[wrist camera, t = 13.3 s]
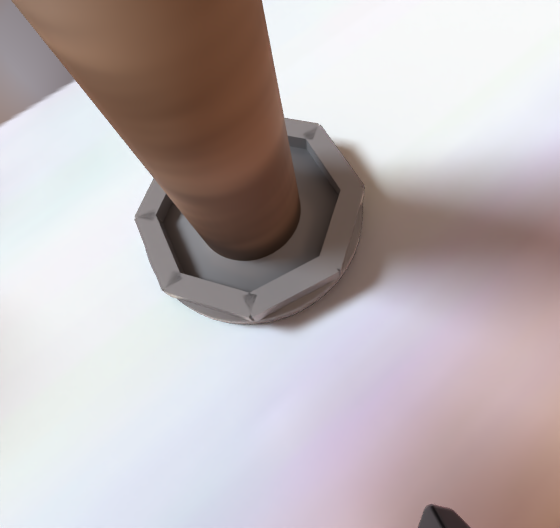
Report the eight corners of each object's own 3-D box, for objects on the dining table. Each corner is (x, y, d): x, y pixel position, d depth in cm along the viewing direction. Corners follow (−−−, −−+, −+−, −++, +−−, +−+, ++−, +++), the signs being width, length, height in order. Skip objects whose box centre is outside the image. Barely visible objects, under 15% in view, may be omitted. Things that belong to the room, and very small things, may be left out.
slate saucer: (406, 255, 17) (412, 240, 16) (195, 366, 17) (181, 362, 15) (297, 102, 21) (295, 79, 20) (126, 188, 21) (109, 171, 19)
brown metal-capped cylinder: (320, 190, 18) (280, -253, 6) (265, 279, 17) (77, -53, 5) (234, 154, 19) (63, -258, 7) (178, 233, 18) (-132, -107, 6)
